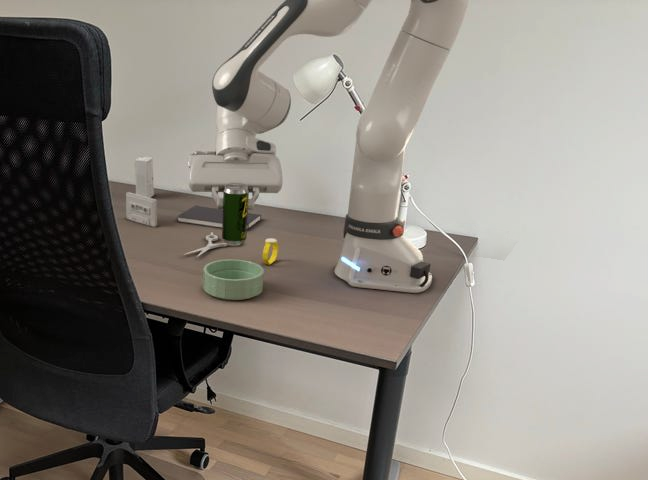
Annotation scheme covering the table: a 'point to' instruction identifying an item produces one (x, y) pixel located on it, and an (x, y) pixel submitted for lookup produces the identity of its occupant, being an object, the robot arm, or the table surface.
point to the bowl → (233, 279)
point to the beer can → (235, 213)
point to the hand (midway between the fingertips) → (235, 208)
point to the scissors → (210, 245)
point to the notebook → (211, 217)
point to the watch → (266, 251)
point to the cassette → (139, 215)
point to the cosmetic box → (144, 176)
